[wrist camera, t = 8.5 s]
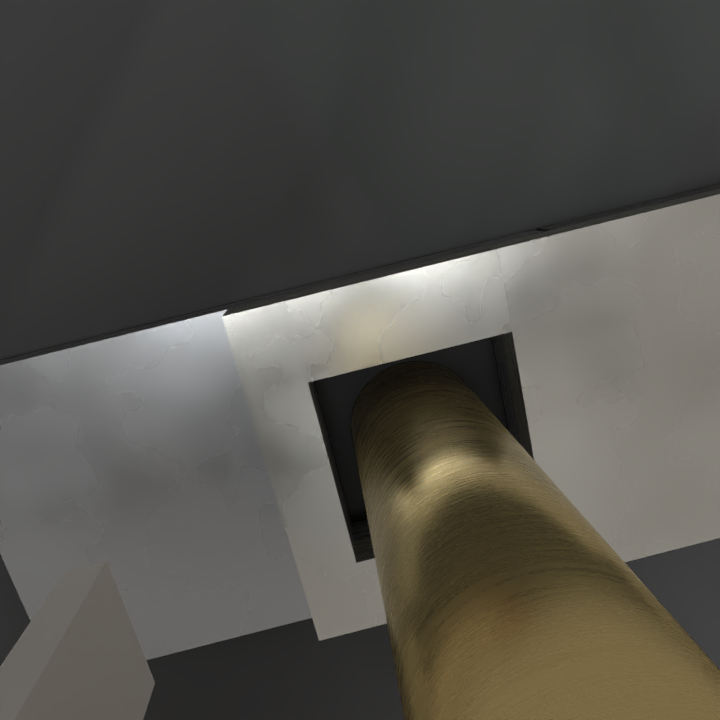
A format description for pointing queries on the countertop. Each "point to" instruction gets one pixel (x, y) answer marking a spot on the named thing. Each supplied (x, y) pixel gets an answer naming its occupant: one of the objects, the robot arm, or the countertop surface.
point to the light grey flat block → (515, 379)
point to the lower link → (156, 478)
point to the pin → (505, 574)
